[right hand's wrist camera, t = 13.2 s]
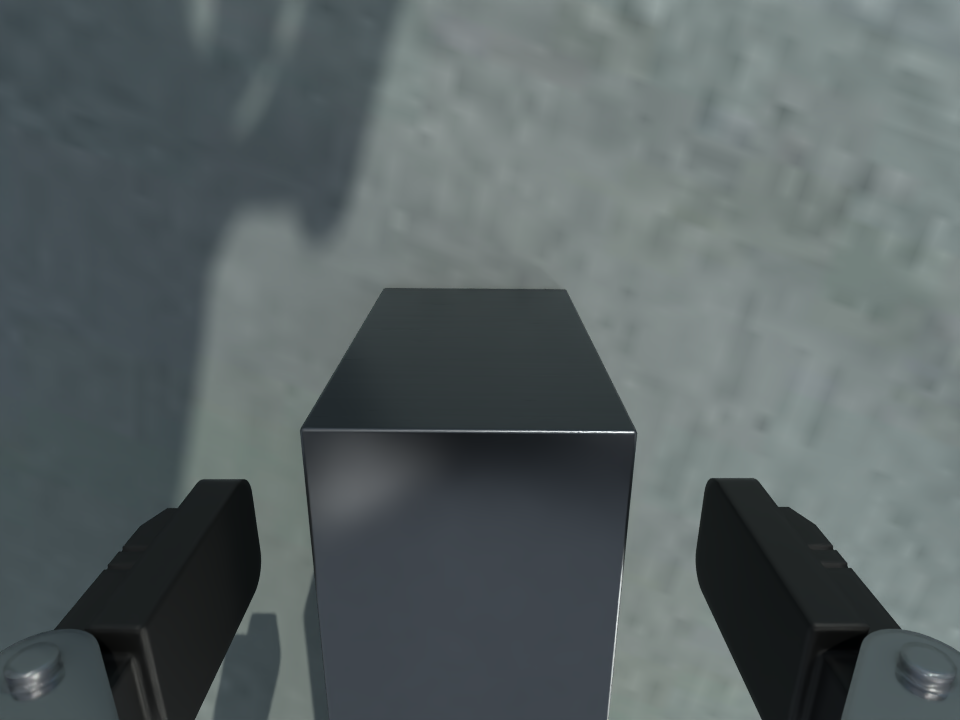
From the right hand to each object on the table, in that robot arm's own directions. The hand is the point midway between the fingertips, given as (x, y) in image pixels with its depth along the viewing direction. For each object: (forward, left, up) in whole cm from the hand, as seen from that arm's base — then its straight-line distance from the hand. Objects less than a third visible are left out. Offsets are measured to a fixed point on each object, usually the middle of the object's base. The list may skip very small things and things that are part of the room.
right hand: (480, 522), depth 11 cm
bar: (+1, -9, -7) cm, 11 cm away
